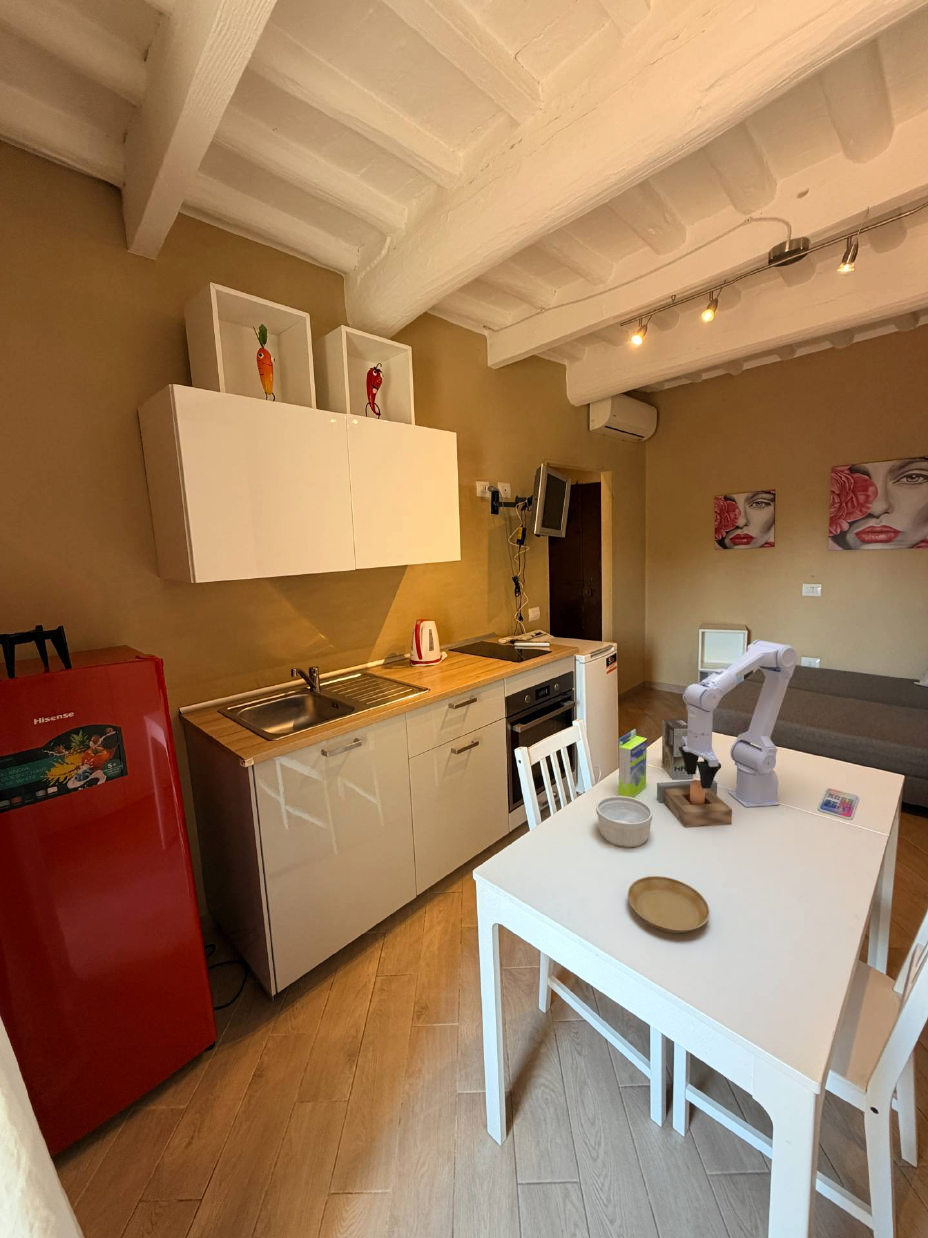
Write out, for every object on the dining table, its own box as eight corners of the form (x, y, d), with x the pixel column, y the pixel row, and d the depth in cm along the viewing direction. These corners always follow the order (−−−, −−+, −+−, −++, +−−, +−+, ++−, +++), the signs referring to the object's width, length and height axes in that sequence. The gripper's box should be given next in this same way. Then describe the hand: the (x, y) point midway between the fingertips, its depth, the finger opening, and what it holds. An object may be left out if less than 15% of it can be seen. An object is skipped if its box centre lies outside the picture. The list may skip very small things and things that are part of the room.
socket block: (706, 800, 136) (706, 786, 135) (731, 824, 124) (732, 809, 124) (663, 802, 136) (663, 789, 135) (684, 827, 124) (685, 812, 123)
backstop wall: (712, 796, 138) (713, 779, 137) (716, 799, 136) (717, 782, 135) (656, 799, 138) (657, 782, 137) (660, 803, 136) (660, 786, 135)
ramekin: (586, 837, 122) (586, 811, 121) (611, 814, 131) (611, 790, 130) (638, 858, 113) (638, 830, 112) (660, 832, 122) (661, 806, 121)
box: (630, 801, 137) (631, 742, 135) (617, 796, 140) (617, 739, 138) (647, 787, 144) (648, 731, 142) (634, 783, 147) (634, 728, 145)
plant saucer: (612, 909, 98) (612, 898, 97) (653, 877, 107) (653, 866, 106) (683, 956, 86) (684, 943, 86) (723, 915, 95) (723, 903, 95)
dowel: (700, 808, 131) (701, 780, 130) (706, 815, 128) (707, 786, 127) (687, 808, 131) (688, 780, 130) (692, 815, 128) (693, 786, 127)
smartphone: (860, 796, 134) (852, 819, 123) (859, 799, 134) (852, 822, 124) (827, 787, 139) (816, 808, 129) (826, 790, 139) (816, 812, 129)
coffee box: (694, 779, 148) (695, 728, 146) (672, 779, 148) (673, 728, 146) (681, 765, 157) (682, 717, 155) (661, 766, 157) (661, 718, 155)
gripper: (671, 721, 133) (670, 769, 135) (699, 743, 119) (697, 795, 121) (697, 720, 133) (695, 767, 135) (727, 741, 119) (725, 793, 121)
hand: (698, 780), depth 128 cm, fingers open, 7 cm apart
